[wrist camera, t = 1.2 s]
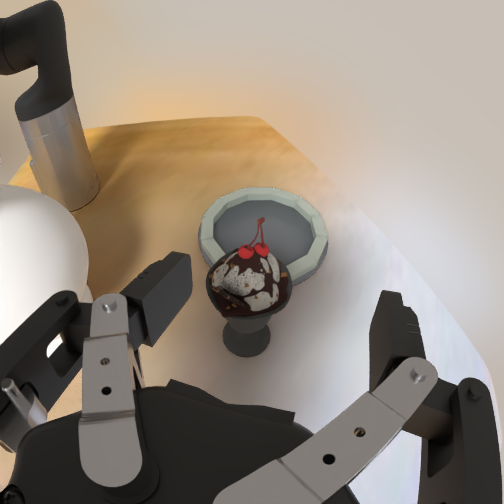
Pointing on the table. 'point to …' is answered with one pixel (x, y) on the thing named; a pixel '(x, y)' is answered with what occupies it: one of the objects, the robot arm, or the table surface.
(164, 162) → the table surface
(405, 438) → the table surface
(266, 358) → the table surface
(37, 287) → the decorative vase
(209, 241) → the tray
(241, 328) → the sundae
